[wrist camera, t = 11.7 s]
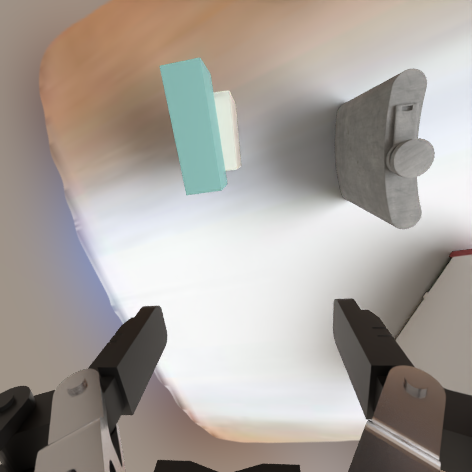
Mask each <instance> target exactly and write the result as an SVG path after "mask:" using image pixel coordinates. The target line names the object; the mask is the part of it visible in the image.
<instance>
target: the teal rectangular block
mask: <svg viewBox="0 0 472 472" xmlns="http://www.w3.org/2000/svg"><path fill="white" fill-rule="evenodd" d="M160 70H161V75H162V80H163V85H164V90H165V94H166V99H167V104H168V109H169V114H170V118H171V123H172V128H173V133H174V138H175V142H176V147H177V152H178V157H179V162H180V166H181V171H182V176H183V181H184V186H185V190H186V195H192V194H199V193H206V192H214V191H221V190H223V188H224V187H225V186H226V185H227V178H226V172H225V165H224V159H223V152H222V146H221V139H220V133H219V126H218V119H217V113H216V106H215V100H214V93H213V87H212V80H211V74H210V73H209V71H208V69H207V68H206V66H205V64H204V63H203V61H202V60H201V58H195V59H190V60H186V61H181V62H176V63H171V64H166V65H161V66H160Z"/></svg>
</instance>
